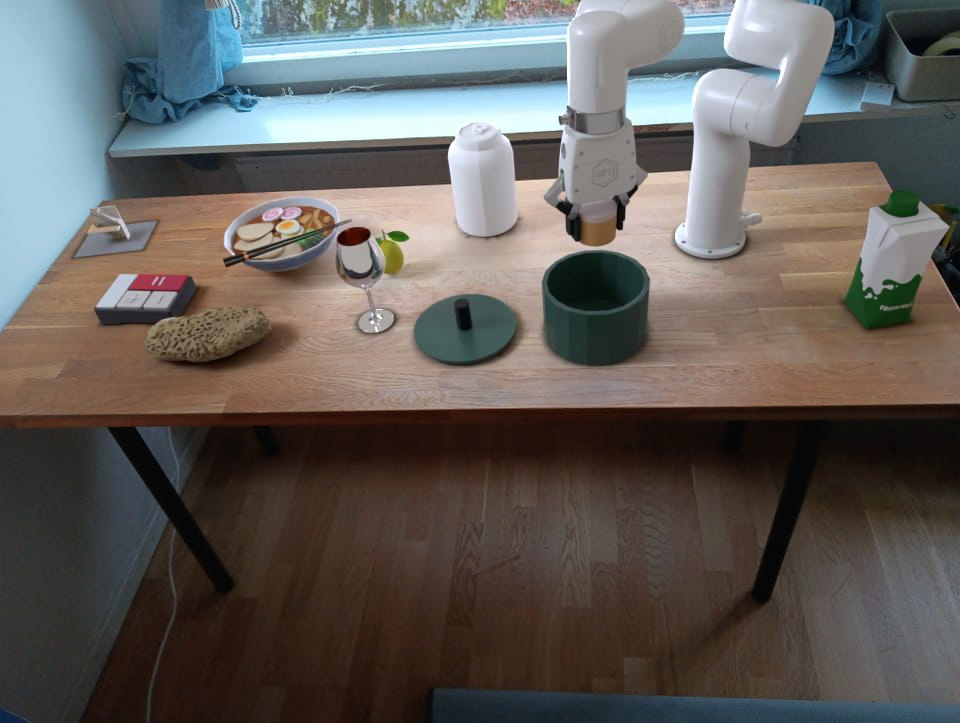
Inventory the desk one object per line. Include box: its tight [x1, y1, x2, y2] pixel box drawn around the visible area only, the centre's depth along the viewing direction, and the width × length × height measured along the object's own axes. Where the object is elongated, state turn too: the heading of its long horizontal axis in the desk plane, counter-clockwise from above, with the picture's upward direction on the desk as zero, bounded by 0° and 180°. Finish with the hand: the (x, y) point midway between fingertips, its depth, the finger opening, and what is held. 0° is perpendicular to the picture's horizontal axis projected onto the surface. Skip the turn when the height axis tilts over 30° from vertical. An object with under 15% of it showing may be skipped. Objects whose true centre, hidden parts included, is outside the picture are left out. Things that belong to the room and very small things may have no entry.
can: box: [447, 120, 519, 238], centre depth 142 cm, size 12×12×20 cm
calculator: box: [93, 273, 197, 325], centre depth 137 cm, size 11×4×15 cm
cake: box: [577, 197, 617, 248], centre depth 106 cm, size 6×6×5 cm
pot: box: [541, 249, 651, 367], centre depth 117 cm, size 17×17×11 cm
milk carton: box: [843, 189, 951, 330], centre depth 110 cm, size 9×9×20 cm
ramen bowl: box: [222, 195, 353, 272], centre depth 143 cm, size 25×23×8 cm
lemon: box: [374, 229, 411, 275], centre depth 135 cm, size 7×6×10 cm
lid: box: [413, 293, 517, 365], centre depth 122 cm, size 18×18×6 cm
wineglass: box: [335, 225, 395, 334], centre depth 122 cm, size 8×8×18 cm
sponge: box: [143, 305, 272, 363], centre depth 126 cm, size 13×8×20 cm
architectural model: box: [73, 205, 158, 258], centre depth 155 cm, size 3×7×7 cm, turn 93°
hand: (595, 230), depth 107 cm, fingers closed on cake, 6 cm apart
